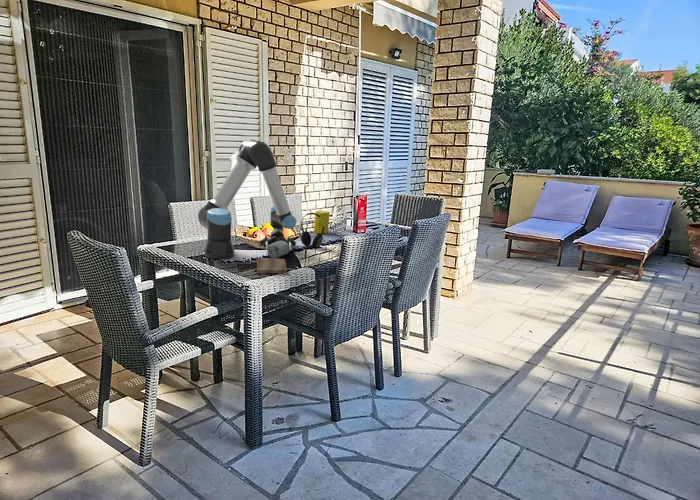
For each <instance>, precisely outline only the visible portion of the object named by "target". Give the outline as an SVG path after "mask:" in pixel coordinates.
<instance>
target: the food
mask: <svg viewBox="0 0 700 500" xmlns="http://www.w3.org/2000/svg"><path fill="white" fill-rule="evenodd" d="M314 213H316V214H318V215H319V216H320V217H321V218H322V220H323V221H324V231H323V234H328V231H329V225H330V211H326V210H322V209H321V210H316V211H315V212H314ZM321 218H319V217H318V216H316V215H314V220H313V222H314V223H313V224H314V225H313V232H314V233H315V234H321V232H322V229H323V221H322V220H321Z"/></svg>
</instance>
